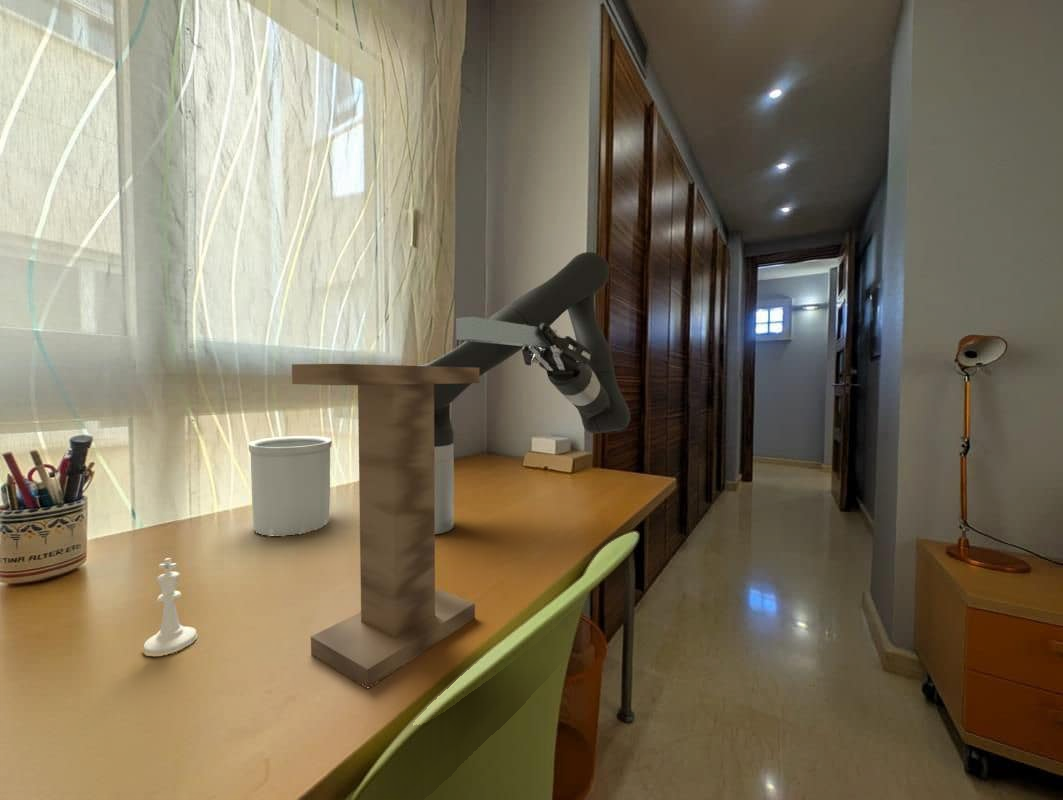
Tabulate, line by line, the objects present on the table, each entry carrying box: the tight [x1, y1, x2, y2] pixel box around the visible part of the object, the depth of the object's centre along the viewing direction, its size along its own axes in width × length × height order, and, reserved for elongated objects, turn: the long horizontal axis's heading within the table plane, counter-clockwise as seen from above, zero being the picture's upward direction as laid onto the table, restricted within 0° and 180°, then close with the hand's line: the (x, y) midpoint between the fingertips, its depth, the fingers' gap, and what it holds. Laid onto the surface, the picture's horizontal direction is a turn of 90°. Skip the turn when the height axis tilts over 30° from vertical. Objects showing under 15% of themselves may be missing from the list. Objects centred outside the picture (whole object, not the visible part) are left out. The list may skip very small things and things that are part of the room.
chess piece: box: [143, 557, 198, 655], centre depth 52 cm, size 5×5×10 cm
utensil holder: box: [248, 435, 333, 537], centre depth 93 cm, size 15×15×18 cm
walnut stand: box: [291, 363, 480, 688], centre depth 54 cm, size 20×10×32 cm, turn 146°
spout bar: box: [455, 316, 558, 348], centre depth 71 cm, size 22×3×3 cm, turn 146°
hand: (532, 328), depth 76 cm, fingers closed on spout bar, 3 cm apart
